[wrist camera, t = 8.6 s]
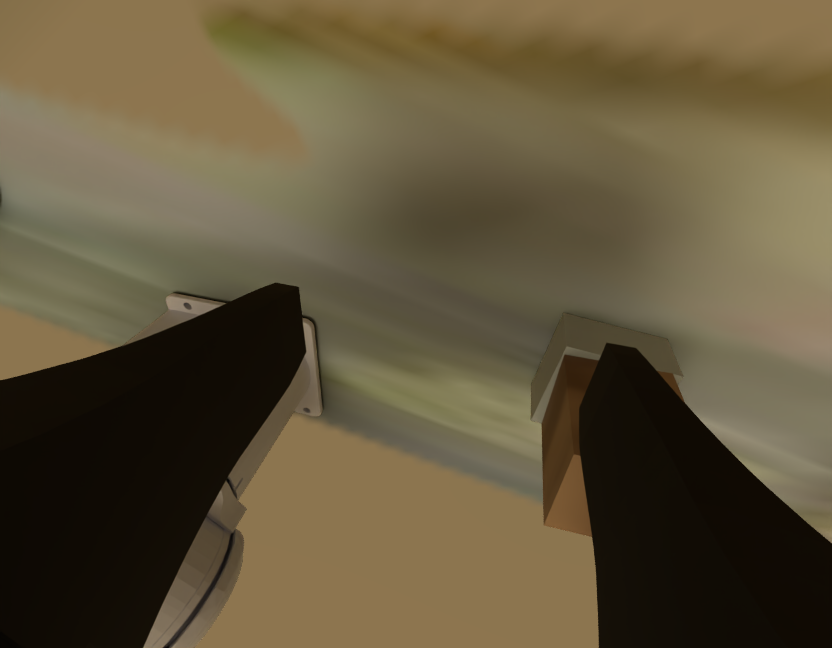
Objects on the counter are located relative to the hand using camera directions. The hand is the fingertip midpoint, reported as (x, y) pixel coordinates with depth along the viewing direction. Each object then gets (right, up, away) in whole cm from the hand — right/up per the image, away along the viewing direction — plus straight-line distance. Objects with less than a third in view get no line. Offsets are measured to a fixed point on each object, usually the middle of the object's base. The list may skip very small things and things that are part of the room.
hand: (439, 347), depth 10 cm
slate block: (+9, -1, +12) cm, 15 cm away
